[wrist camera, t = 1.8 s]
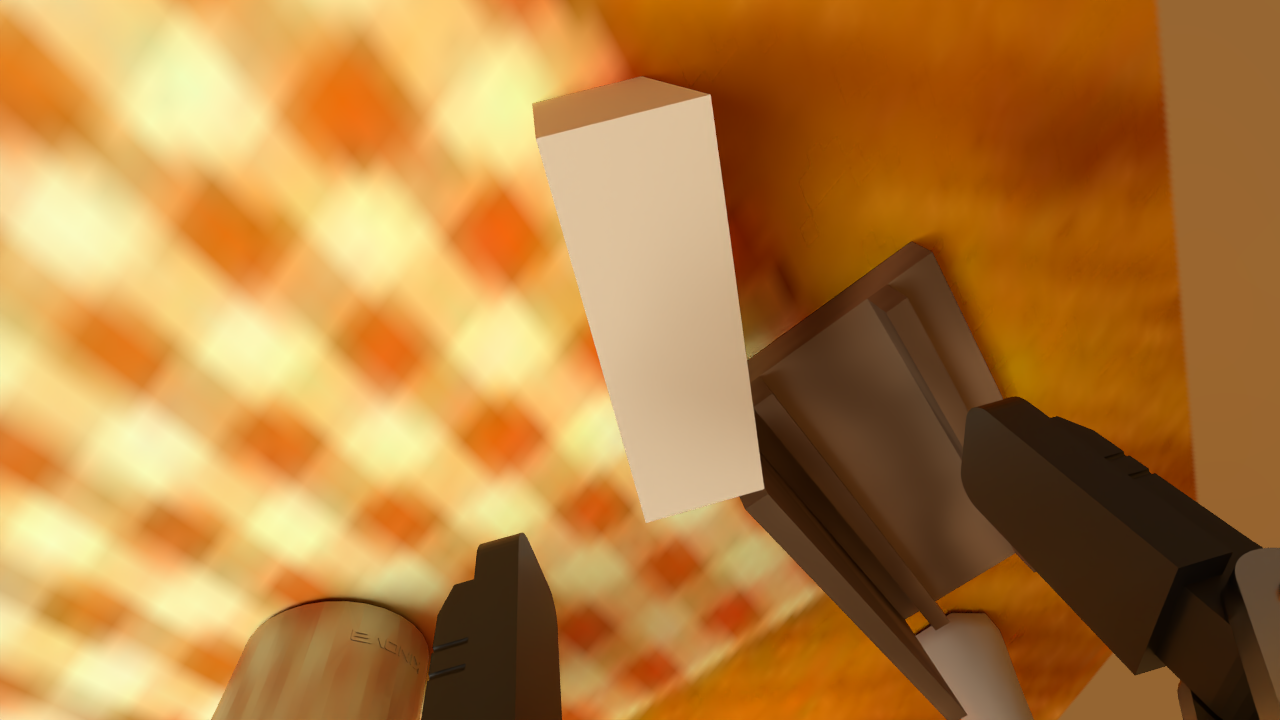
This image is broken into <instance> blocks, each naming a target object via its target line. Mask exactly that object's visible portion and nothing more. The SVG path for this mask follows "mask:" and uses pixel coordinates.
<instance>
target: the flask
mask: <svg viewBox="0 0 1280 720" xmlns="http://www.w3.org/2000/svg"><path fill="white" fill-rule="evenodd" d="M946 617H947V618H948V620H949V621H950V623H948V624H946V625H945V626H943V627H941V628H940V629H938V630H935V629H934V628H933V627H932V626H930V627H929V628H927V629H925V630H924V631H922V632H921V633H919V634H918V635H916V638H917V639H918V641H919V642H920V644H921V645H922V647H923V648H924V650H925V651H926V653H927V654H928V656H929V657H930V659H931V660H932V662H933V663H934V665H935V666H936V668H937V669H938V671H939V673H940V674H941V676H942V677H943V679H944V680H945V682H946V683H947V685H948V686H949V688H950V689H951V691H952V692H953V694H954V695H955V697H956V698H957V700H958V701H959V703H960V704H961V706H962V707H963V709H964V710H965V712H966V713H967V716H965V717H963V718H961V719H962V720H1034V719H1033V717H1032V714H1031V712H1030V709H1029V707H1028V704H1027V702H1026V699H1025V697H1024V694H1023V692H1022V689H1021V687H1020V684H1019V681H1018V679H1017V676H1016V673H1015V671H1014V668H1013V665H1012V662H1011V659H1010V657H1009V654H1008V651H1007V648H1006V645H1005V643H1004V640H1003V638H1002V635H1001V632H1000V630H999V629H998V628H997V627H996V625H995V624H994V623H993V622H992V621H991V619H990V618H989V617H988V616H987V615H986V613H951V614H949V615H947V616H946Z"/></svg>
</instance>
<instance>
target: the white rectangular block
mask: <svg viewBox="0 0 1280 720" xmlns="http://www.w3.org/2000/svg"><path fill="white" fill-rule="evenodd" d="M532 106H533V115H534V125H535V135H536V141H537V144H538V148H539V151H540V155H541V158H542V162H543V165H544V169H545V172H546V176H547V179H548V183H549V186H550V190H551V193H552V197H553V200H554V204H555V207H556V211H557V214H558V218H559V221H560V224H561V228H562V231H563V235H564V238H565V242H566V245H567V249H568V252H569V256H570V259H571V263H572V266H573V270H574V273H575V277H576V280H577V284H578V287H579V291H580V294H581V298H582V301H583V305H584V308H585V312H586V315H587V319H588V322H589V326H590V329H591V333H592V336H593V340H594V343H595V347H596V350H597V354H598V357H599V361H600V364H601V368H602V371H603V375H604V378H605V382H606V385H607V389H608V392H609V396H610V399H611V403H612V406H613V409H614V413H615V416H616V420H617V423H618V427H619V430H620V434H621V437H622V441H623V444H624V448H625V451H626V455H627V458H628V462H629V465H630V469H631V472H632V476H633V479H634V483H635V486H636V490H637V493H638V497H639V500H640V504H641V507H642V511H643V514H644V518H645V521H646V523H648V522H651V521H655V520H658V519H662V518H665V517H669V516H672V515H676V514H679V513H683V512H686V511H690V510H693V509H697V508H700V507H704V506H707V505H711V504H714V503H718V502H721V501H724V500H728V499H731V498H735V497H738V496H742V495H745V494H749V493H752V492H756V491H759V490H763V489H764V483H763V476H762V468H761V461H760V453H759V446H758V439H757V431H756V423H755V416H754V408H753V401H752V394H751V386H750V379H749V371H748V364H747V357H746V349H745V342H744V335H743V327H742V320H741V313H740V305H739V298H738V291H737V283H736V276H735V269H734V261H733V254H732V247H731V239H730V232H729V224H728V217H727V210H726V202H725V195H724V188H723V180H722V173H721V166H720V160H719V152H718V145H717V138H716V130H715V123H714V116H713V108H712V101H711V94H707V93H703V92H699V91H696V90H692V89H688V88H684V87H680V86H677V85H673V84H669V83H665V82H662V81H658V80H654V79H650V78H646V77H643V76H640V77H636V78H632V79H628V80H624V81H620V82H616V83H612V84H608V85H604V86H600V87H596V88H592V89H588V90H584V91H580V92H576V93H572V94H568V95H564V96H560V97H556V98H552V99H548V100H544V101H540V102H536V103H532Z"/></svg>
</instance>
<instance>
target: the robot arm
mask: <svg viewBox="0 0 1280 720" xmlns="http://www.w3.org/2000/svg"><path fill="white" fill-rule="evenodd" d="M961 480H962V484H963V487H964V489H965V492H966V494H967V496H968V498H969V499H970V501H971V502H972V504H973V505H974V506H975V507H976V508H977V509H978V511H979V512H980V513H981V514H982V515H983V516H984V517H985V518H986V519H987V520H988V521H989V522H990V523H991V524H992V525H993V526H994V527H995V528H996V529H997V531H998V532H999V533H1000V534H1001V535H1002V536H1003V537H1004V538H1005V539H1006V540H1007V541H1008V542H1009V543H1010V544H1011V545H1012V546H1013V547H1014V548H1015V549H1016V551H1017V552H1018V553H1019V554H1020V555H1021V556H1022V557H1023V558H1024V559H1025V560H1026V561H1027V562H1028V563H1029V564H1030V565H1031V566H1032V567H1033V568H1034V569H1035V571H1036V572H1037V573H1038V574H1039V575H1040V576H1041V577H1042V578H1043V579H1044V580H1045V581H1046V582H1047V583H1048V584H1049V585H1050V586H1051V587H1052V588H1053V590H1054V591H1055V592H1056V593H1057V594H1058V595H1059V596H1060V597H1061V598H1062V599H1063V600H1064V601H1065V602H1066V603H1067V604H1068V605H1069V606H1070V607H1071V608H1072V610H1073V611H1074V612H1075V613H1076V614H1077V615H1078V616H1079V617H1080V618H1081V619H1082V620H1083V621H1084V622H1085V623H1086V624H1087V625H1088V626H1089V627H1090V628H1091V630H1092V631H1093V632H1094V633H1095V634H1096V635H1097V636H1098V637H1099V638H1100V639H1101V640H1102V641H1103V642H1104V643H1105V644H1106V645H1107V646H1108V647H1109V649H1110V650H1111V651H1112V652H1113V653H1114V654H1115V655H1116V656H1117V657H1118V658H1119V659H1120V660H1121V661H1122V662H1123V663H1124V664H1125V665H1126V666H1127V667H1128V668H1129V670H1131V672H1132V673H1133V674H1134V675H1138V674H1141V673H1145V672H1148V671H1151V670H1154V669H1158V668H1161V667H1165V666H1167V667H1168V668H1169V669H1170V670H1171V671H1172V672H1173V673H1174V674H1175V675H1176V676H1177V677H1178V678H1179V679H1180V683H1179V685H1178V699H1179V704H1180V708H1181V712H1182V717H1183V720H1280V548H1262V547H1261V546H1259V545H1258V544H1256V543H1255V542H1253V541H1252V540H1250V539H1249V538H1247V537H1246V536H1244V535H1243V534H1241V533H1240V532H1238V531H1237V530H1236V529H1234V528H1233V527H1231V526H1230V525H1228V524H1227V523H1226V522H1224V521H1223V520H1221V519H1220V518H1218V517H1217V516H1216V515H1214V514H1213V513H1211V512H1210V511H1208V510H1207V509H1206V508H1204V507H1202V506H1201V505H1200V504H1198V503H1197V502H1196V501H1194V500H1193V499H1191V498H1190V497H1188V496H1187V495H1186V494H1184V493H1183V492H1181V491H1180V490H1178V489H1177V488H1175V487H1174V486H1173V485H1171V484H1170V483H1168V482H1167V481H1165V480H1164V479H1163V478H1161V477H1160V476H1158V475H1157V474H1155V473H1154V474H1151V473H1150V472H1149V469H1148V468H1147V467H1145V466H1144V465H1142V464H1141V463H1140V462H1138V461H1137V460H1135V459H1134V458H1132V457H1131V456H1125V455H1124V451H1122V450H1121V449H1120V448H1118V447H1117V446H1115V445H1114V444H1112V443H1111V442H1109V441H1108V440H1107V439H1105V438H1104V437H1102V436H1101V435H1099V434H1098V433H1097V432H1095V431H1093V430H1091V429H1088V428H1086V427H1083V426H1081V425H1078V424H1076V423H1073V422H1071V421H1068V420H1066V419H1063V418H1061V417H1058V416H1056V417H1053V418H1049V417H1048V416H1047V415H1045V414H1044V413H1043V412H1041V411H1040V410H1039V409H1037V408H1036V407H1034V406H1033V405H1032V404H1030V403H1029V402H1028V401H1026V400H1024V399H1022V398H1020V397H1010V398H1006V399H1003V400H999V401H996V402H992V403H989V404H985V405H981V406H978V407H974V408H972V409H970V410H969V412H968V413H967V416H966V424H965V434H964V444H963V454H962V464H961ZM433 650H434V653H433V654H432V655H431V661H430V667H429V681H427V686H426V693H425V699H424V705H423V712H422V718H421V720H562V710H561V690H560V669H559V648H558V627H557V617H556V611H555V606H554V601H553V597H552V594H551V591H550V588H549V586H548V583H547V581H546V579H545V577H544V575H543V572H542V570H541V568H540V566H539V563H538V561H537V559H536V557H535V554H534V552H533V550H532V548H531V545H530V543H529V541H528V539H527V537H526V535H525V534H524V533H519V534H516V535H512V536H509V537H505V538H501V539H498V540H494V541H491V542H487V543H484V544H480V545H479V547H478V550H477V556H476V566H475V576H474V579H473V580H470V581H466V582H463V583H459V584H456V585H454V586H453V588H452V590H451V592H450V594H449V596H448V597H447V599H446V601H445V603H444V605H443V607H442V608H441V610H440V612H439V614H438V617H437V623H436V629H435V636H434V642H433ZM428 663H429V649H428V645H427V643H426V641H425V638H424V636H423V635H422V633H421V632H420V631H419V630H418V629H417V628H416V627H415V626H414V625H413V624H412V623H411V622H409V621H408V620H406V619H405V618H403V617H402V616H400V615H398V614H396V613H394V612H391V611H389V610H387V609H385V608H381V607H377V606H373V605H370V604H366V603H357V602H349V601H325V602H319V603H312V604H306V605H302V606H299V607H296V608H292V609H289V610H286V611H284V612H282V613H280V614H278V615H276V616H274V617H272V618H270V619H269V620H267V621H266V622H265V623H264V624H262V625H261V626H260V627H259V628H257V630H256V631H255V632H254V633H253V635H252V636H251V637H250V639H249V640H248V642H247V644H246V646H245V649H244V651H243V653H242V655H241V657H240V659H239V661H238V664H237V666H236V668H235V670H234V672H233V674H232V677H231V679H230V681H229V683H228V685H227V687H226V689H225V692H224V694H223V696H222V698H221V700H220V702H219V704H218V707H217V709H216V711H215V713H214V715H213V717H212V719H211V720H420V714H421V708H422V701H423V695H424V689H425V682H426V676H427V670H428Z"/></svg>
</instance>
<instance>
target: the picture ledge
mask: <svg viewBox="0 0 1280 720" xmlns="http://www.w3.org/2000/svg"><path fill="white" fill-rule="evenodd" d="M747 364H748V371H749V379H750V386H751V394H752V401H753V408H754V416H755V423H756V431H757V439H758V446H759V453H760V461H761V468H762V476H763V483H764V489H763V490H759V491H756V492H752V493H749V494H745V495H742V496H739V497H740V499H741V501H742V503H743V505H744V507H745V509H746V510H747V511H748V513H749V514H750V515H751V516H752V517H753V518H754V519H755V520H756V521H757V522H758V523H759V524H760V525H761V526H762V527H763V528H764V529H765V530H766V531H767V532H768V533H769V534H770V535H771V536H772V538H773V539H774V540H775V541H776V542H777V543H778V544H779V545H780V546H781V547H782V548H783V549H784V550H785V551H786V552H787V553H788V554H789V555H790V556H791V557H792V558H793V559H794V560H795V562H796V563H797V564H798V565H799V566H800V567H801V568H802V569H803V570H804V571H805V572H806V573H807V574H808V575H809V576H810V577H811V578H812V579H813V580H814V581H815V582H816V583H817V584H818V586H819V587H820V588H821V589H822V590H823V591H824V592H825V593H826V594H827V595H828V596H829V597H830V598H831V599H832V600H833V601H834V602H835V603H836V604H837V605H838V606H839V607H840V608H841V610H842V611H843V612H844V613H845V614H846V615H847V616H848V617H849V618H850V619H851V620H852V621H853V622H854V623H855V624H856V625H857V626H858V627H859V628H860V629H861V630H862V631H863V632H864V634H865V635H866V636H867V637H868V638H869V639H870V640H871V641H872V642H873V643H874V644H875V645H876V646H877V647H878V648H879V649H880V650H881V651H882V652H883V653H884V654H885V655H886V656H887V657H888V659H889V660H890V661H891V662H892V663H893V664H894V665H895V666H896V667H897V668H898V669H899V670H900V671H901V672H902V673H903V674H904V675H905V676H906V677H907V678H908V679H909V680H910V681H911V683H912V684H913V685H914V686H915V687H916V688H917V689H918V690H919V691H920V692H921V693H922V694H923V695H924V696H925V697H926V698H927V699H928V700H929V701H930V702H931V703H932V704H933V705H934V707H935V708H936V709H937V710H938V711H939V712H940V713H941V714H942V715H943V716H944V717H945V718H946V719H947V720H960V719H961V718H963V717H965V716H967V713H966V712H965V710H964V709H963V707H962V706H961V704H960V703H959V701H958V700H957V698H956V697H955V695H954V694H953V692H952V691H951V689H950V688H949V686H948V685H947V683H946V682H945V680H944V679H943V677H942V676H941V674H940V673H939V671H938V669H937V668H936V666H935V665H934V663H933V662H932V660H931V659H930V657H929V656H928V654H927V653H926V651H925V650H924V648H923V647H922V645H921V644H920V642H919V641H918V639H917V638H916V636H915V635H914V633H913V632H912V630H911V629H910V627H909V626H908V624H907V622H906V621H905V619H907V618H908V617H910V616H912V615H913V614H915V613H917V612H918V611H920V612H921V613H922V614H923V616H924V617H925V618H926V619H927V620H928V622H929V623H930V624H931V625H932V627H933V628H934V629H935V630H938V629H940V628H941V627H943V626H945V625H946V624H948V623H950V621H949V620H948V618H947V617H946V615H945V614H944V613H943V611H942V610H941V609H940V607H939V606H938V605H937V603H936V602H935V601H936V600H938V599H940V598H941V597H943V596H945V595H946V594H948V593H950V592H951V591H953V590H955V589H956V588H958V587H960V586H961V585H963V584H965V583H966V582H968V581H970V580H971V579H973V578H975V577H976V576H978V575H980V574H981V573H983V572H985V571H986V570H988V569H990V568H991V567H993V566H995V565H996V564H998V563H1000V562H1001V561H1003V560H1005V559H1006V558H1008V557H1010V556H1011V555H1013V554H1015V553H1016V554H1017V555H1018V556H1019V557H1020V558H1021V559H1022V560H1023V561H1024V562H1025V563H1026V564H1027V565H1028V566H1029V567H1030V568H1031V570H1032V571H1033V572H1036V571H1035V569H1034V568H1033V567H1032V566H1031V565H1030V564H1029V563H1028V562H1027V561H1026V560H1025V559H1024V558H1023V557H1022V556H1021V555H1020V554H1019V553H1018V552H1017V551H1016V549H1015V548H1014V547H1013V546H1012V545H1011V544H1010V543H1009V542H1008V541H1007V540H1006V539H1005V538H1004V537H1003V536H1002V535H1001V534H1000V533H999V532H998V531H997V529H996V528H995V527H994V526H993V525H992V524H991V523H990V522H989V521H988V520H987V519H986V518H985V517H984V516H983V515H982V514H981V513H980V512H979V511H978V509H977V508H976V507H975V506H974V505H973V504H972V502H971V501H970V499H969V498H968V496H967V494H966V492H965V489H964V487H963V484H962V480H961V464H962V454H963V444H964V434H965V424H966V416H967V413H968V412H969V410H970V409H972V408H974V407H978V406H981V405H985V404H989V403H992V402H996V401H999V400H1003V398H1002V396H1001V394H1000V391H999V389H998V387H997V385H996V383H995V381H994V379H993V377H992V375H991V373H990V371H989V369H988V367H987V364H986V362H985V360H984V358H983V356H982V354H981V352H980V350H979V348H978V346H977V344H976V342H975V340H974V337H973V335H972V333H971V331H970V329H969V327H968V325H967V323H966V321H965V319H964V317H963V315H962V313H961V310H960V308H959V306H958V304H957V302H956V300H955V298H954V296H953V294H952V292H951V290H950V288H949V286H948V284H947V281H946V279H945V277H944V275H943V273H942V271H941V269H940V267H939V265H938V263H937V261H936V259H935V257H934V254H933V252H931V251H930V250H928V249H926V248H924V247H922V246H920V245H918V244H916V243H914V242H912V241H911V242H910V243H909V244H907V245H906V246H905V247H903V248H902V249H900V250H899V251H898V252H896V253H895V254H894V255H892V256H891V257H889V258H888V259H887V260H885V261H884V262H883V263H881V264H880V265H879V266H877V267H876V268H874V269H873V270H872V271H870V272H869V273H868V274H866V275H865V276H863V277H862V278H861V279H859V280H858V281H857V282H855V283H854V284H852V285H851V286H850V287H848V288H847V289H846V290H844V291H843V292H841V293H840V294H839V295H837V296H836V297H835V298H833V299H832V300H830V301H829V302H828V303H826V304H825V305H824V306H822V307H821V308H819V309H818V310H817V311H815V312H814V313H813V314H811V315H810V316H808V317H807V318H806V319H804V320H803V321H802V322H800V323H799V324H797V325H796V326H795V327H793V328H792V329H791V330H789V331H788V332H786V333H785V334H784V335H782V336H781V337H780V338H778V339H777V340H775V341H774V342H773V343H771V344H770V345H769V346H767V347H766V348H764V349H763V350H762V351H760V352H759V353H758V354H756V355H755V356H753V357H752V358H751V359H749V360H748V361H747Z"/></svg>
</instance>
